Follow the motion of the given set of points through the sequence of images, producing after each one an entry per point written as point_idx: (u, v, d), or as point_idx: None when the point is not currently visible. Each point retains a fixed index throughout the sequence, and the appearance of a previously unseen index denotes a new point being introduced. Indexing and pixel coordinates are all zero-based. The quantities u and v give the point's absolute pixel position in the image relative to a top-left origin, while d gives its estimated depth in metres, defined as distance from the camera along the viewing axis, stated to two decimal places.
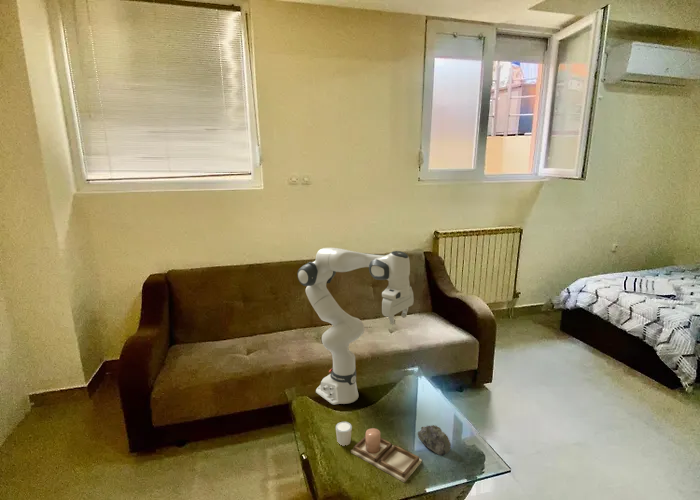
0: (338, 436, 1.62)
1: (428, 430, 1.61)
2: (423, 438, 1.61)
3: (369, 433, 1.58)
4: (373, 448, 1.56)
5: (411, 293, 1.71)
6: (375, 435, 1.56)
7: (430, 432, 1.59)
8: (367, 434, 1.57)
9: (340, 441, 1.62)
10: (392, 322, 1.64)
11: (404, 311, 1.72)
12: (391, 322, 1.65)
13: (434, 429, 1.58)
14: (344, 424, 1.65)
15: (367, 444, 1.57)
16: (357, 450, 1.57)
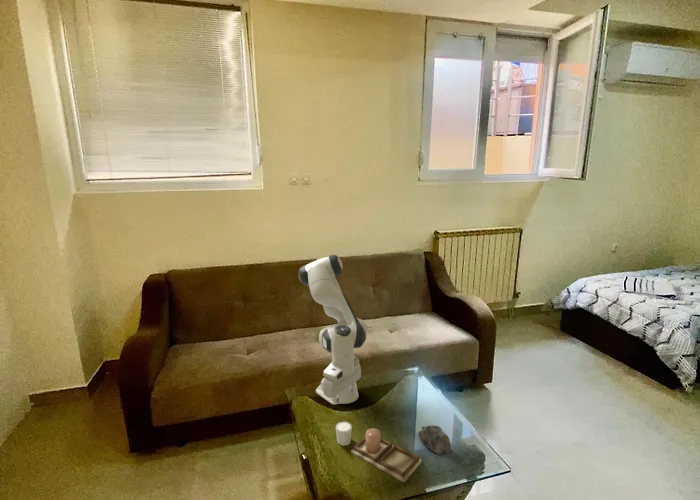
0: (338, 436, 1.62)
1: (428, 430, 1.61)
2: (423, 438, 1.61)
3: (369, 433, 1.58)
4: (373, 448, 1.56)
5: (358, 367, 1.63)
6: (375, 435, 1.56)
7: (430, 432, 1.59)
8: (367, 434, 1.57)
9: (340, 441, 1.62)
10: (335, 401, 1.56)
11: (351, 386, 1.64)
12: (334, 401, 1.56)
13: (434, 429, 1.59)
14: (344, 424, 1.65)
15: (367, 444, 1.57)
16: (357, 450, 1.57)
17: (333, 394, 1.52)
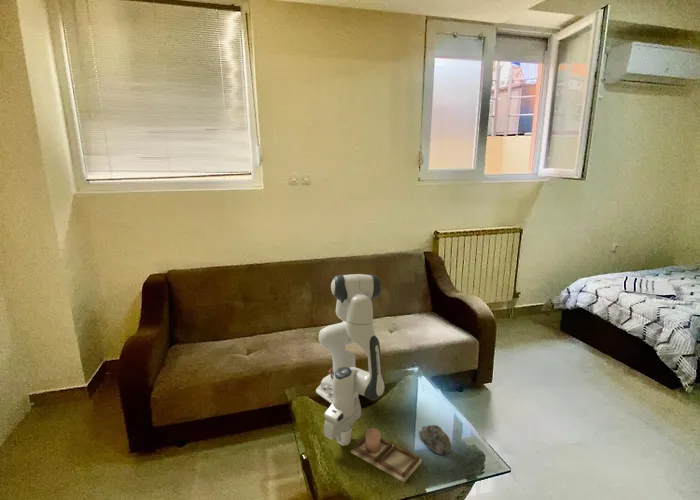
0: None
1: (429, 430, 1.61)
2: (424, 438, 1.61)
3: (369, 433, 1.58)
4: (373, 448, 1.56)
5: (358, 406, 1.67)
6: (375, 435, 1.56)
7: (431, 432, 1.60)
8: (367, 434, 1.57)
9: (340, 441, 1.62)
10: (338, 439, 1.61)
11: None
12: (337, 439, 1.61)
13: (434, 429, 1.59)
14: None
15: (367, 444, 1.57)
16: (357, 450, 1.57)
17: (334, 436, 1.56)
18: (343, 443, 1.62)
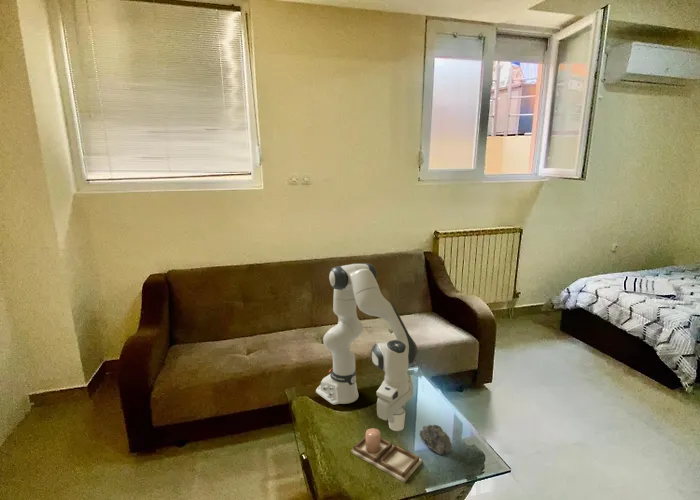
0: None
1: (429, 429, 1.61)
2: (424, 437, 1.62)
3: (369, 433, 1.58)
4: (373, 448, 1.56)
5: (410, 385, 1.51)
6: (375, 435, 1.56)
7: (431, 431, 1.60)
8: (367, 434, 1.57)
9: (394, 426, 1.46)
10: (391, 421, 1.45)
11: None
12: (390, 421, 1.45)
13: (435, 429, 1.59)
14: None
15: (367, 444, 1.57)
16: (357, 450, 1.57)
17: (388, 416, 1.40)
18: (397, 428, 1.46)
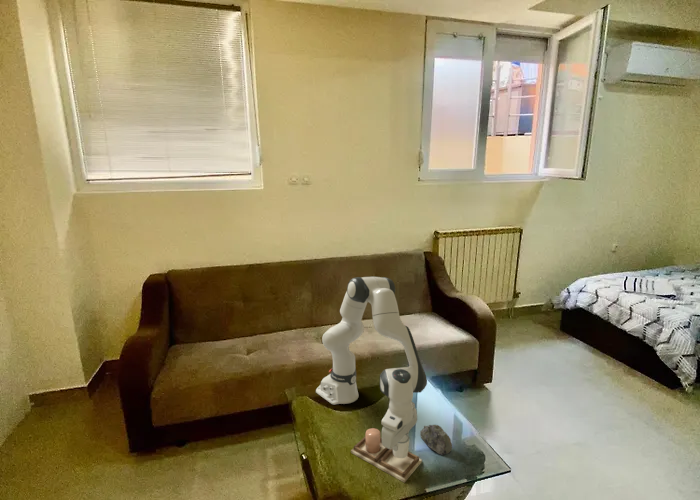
0: None
1: (430, 429, 1.61)
2: (425, 437, 1.62)
3: (369, 433, 1.58)
4: (373, 448, 1.56)
5: (414, 412, 1.53)
6: (375, 435, 1.56)
7: (431, 431, 1.60)
8: (367, 434, 1.57)
9: (398, 453, 1.48)
10: (395, 449, 1.47)
11: None
12: (394, 448, 1.47)
13: (435, 429, 1.59)
14: None
15: (367, 444, 1.57)
16: (357, 450, 1.57)
17: (392, 445, 1.42)
18: (401, 455, 1.48)
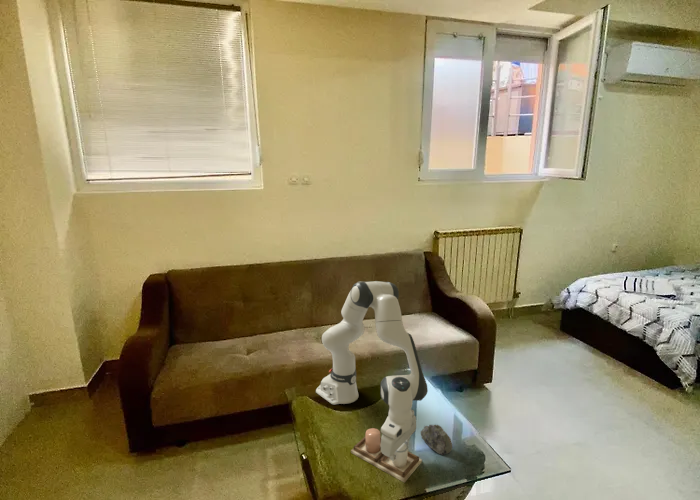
0: None
1: (430, 429, 1.62)
2: (425, 437, 1.62)
3: (369, 433, 1.58)
4: (373, 448, 1.56)
5: (414, 420, 1.53)
6: (375, 435, 1.56)
7: (432, 431, 1.60)
8: (367, 434, 1.57)
9: (397, 462, 1.49)
10: (392, 458, 1.46)
11: None
12: (391, 458, 1.46)
13: (435, 428, 1.59)
14: None
15: (367, 444, 1.57)
16: (357, 450, 1.57)
17: (392, 453, 1.42)
18: (400, 464, 1.49)
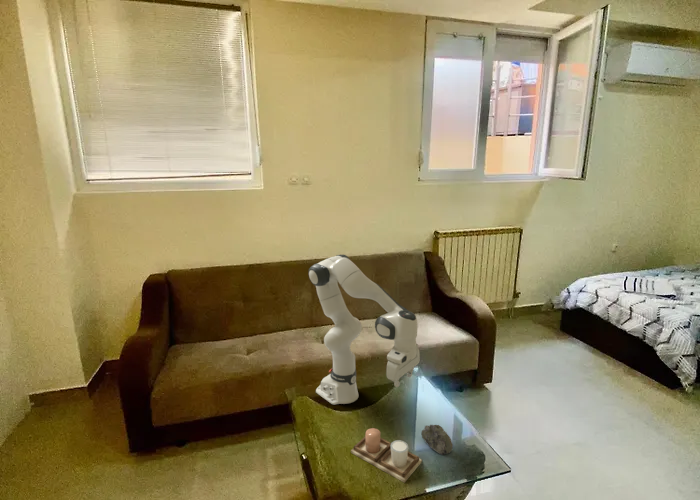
0: (394, 457, 1.49)
1: (431, 429, 1.62)
2: (425, 437, 1.62)
3: (369, 433, 1.58)
4: (373, 448, 1.56)
5: (417, 352, 1.64)
6: (375, 435, 1.56)
7: (432, 431, 1.60)
8: (367, 434, 1.57)
9: (397, 462, 1.49)
10: (397, 385, 1.57)
11: (409, 370, 1.65)
12: (396, 384, 1.57)
13: (436, 428, 1.59)
14: (399, 443, 1.52)
15: (367, 444, 1.57)
16: (357, 450, 1.57)
17: (396, 377, 1.53)
18: (400, 464, 1.49)
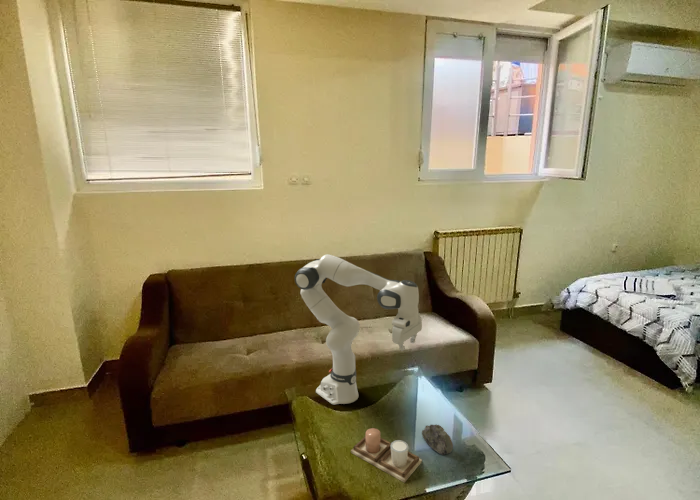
0: (394, 457, 1.49)
1: (431, 429, 1.62)
2: (426, 436, 1.62)
3: (369, 433, 1.58)
4: (373, 448, 1.56)
5: (419, 319, 1.78)
6: (375, 435, 1.56)
7: (433, 431, 1.60)
8: (367, 434, 1.57)
9: (396, 462, 1.49)
10: (402, 348, 1.71)
11: (413, 337, 1.79)
12: (401, 348, 1.71)
13: (436, 428, 1.59)
14: (399, 443, 1.52)
15: (367, 444, 1.57)
16: (357, 450, 1.57)
17: (401, 341, 1.67)
18: (400, 464, 1.49)
